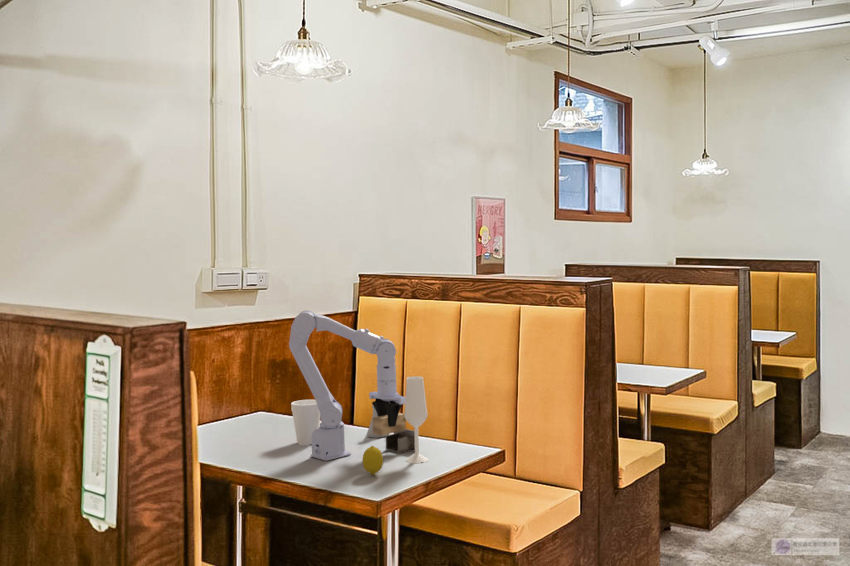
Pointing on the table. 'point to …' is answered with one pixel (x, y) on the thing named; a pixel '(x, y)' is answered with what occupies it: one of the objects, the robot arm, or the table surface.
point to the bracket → (401, 441)
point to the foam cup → (305, 420)
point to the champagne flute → (415, 411)
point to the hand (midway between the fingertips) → (387, 425)
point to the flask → (370, 430)
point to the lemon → (372, 460)
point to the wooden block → (383, 427)
